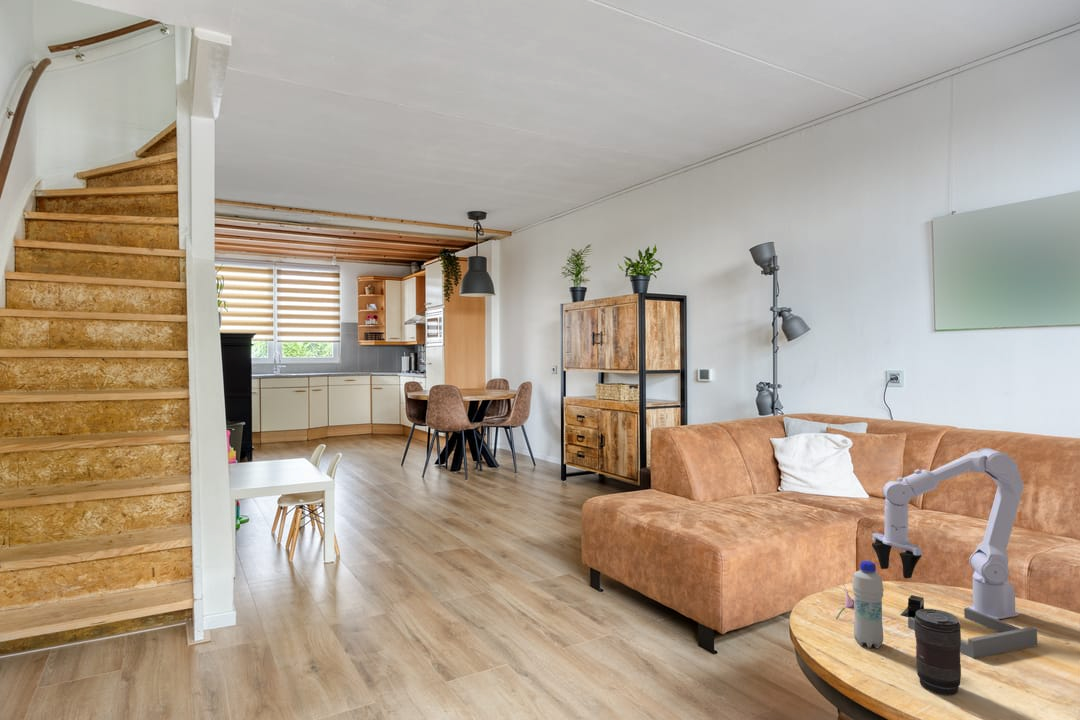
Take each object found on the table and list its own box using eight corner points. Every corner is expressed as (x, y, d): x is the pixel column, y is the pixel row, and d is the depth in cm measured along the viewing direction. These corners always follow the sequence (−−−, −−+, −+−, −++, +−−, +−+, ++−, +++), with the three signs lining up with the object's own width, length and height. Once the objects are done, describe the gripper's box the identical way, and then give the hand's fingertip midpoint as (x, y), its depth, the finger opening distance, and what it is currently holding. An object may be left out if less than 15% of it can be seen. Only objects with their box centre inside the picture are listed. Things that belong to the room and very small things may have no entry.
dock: (967, 616, 161) (967, 601, 161) (1037, 645, 145) (1036, 628, 145) (908, 627, 155) (907, 611, 155) (973, 658, 139) (973, 641, 139)
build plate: (907, 605, 171) (907, 588, 171) (937, 612, 166) (937, 595, 166) (895, 618, 162) (895, 600, 163) (926, 626, 157) (926, 608, 157)
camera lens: (906, 678, 131) (905, 608, 131) (941, 676, 131) (940, 607, 131) (934, 699, 123) (932, 624, 123) (971, 696, 123) (970, 623, 123)
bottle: (883, 640, 148) (882, 558, 148) (885, 652, 142) (884, 567, 142) (852, 635, 151) (851, 555, 151) (853, 647, 145) (852, 563, 145)
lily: (860, 638, 152) (879, 604, 152) (815, 608, 160) (833, 576, 160) (867, 636, 161) (885, 604, 161) (824, 607, 169) (841, 577, 169)
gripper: (864, 519, 177) (863, 565, 177) (907, 533, 163) (907, 583, 163) (883, 517, 179) (882, 563, 179) (927, 531, 165) (927, 581, 165)
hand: (895, 573), depth 171 cm, fingers open, 7 cm apart
